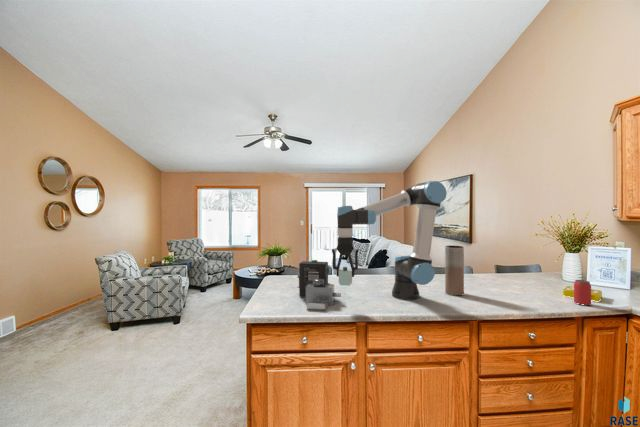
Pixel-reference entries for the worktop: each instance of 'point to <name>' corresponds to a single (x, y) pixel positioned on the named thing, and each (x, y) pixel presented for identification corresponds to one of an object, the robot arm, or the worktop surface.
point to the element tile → (595, 294)
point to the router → (311, 274)
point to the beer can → (582, 292)
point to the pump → (345, 276)
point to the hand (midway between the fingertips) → (345, 283)
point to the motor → (320, 295)
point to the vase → (454, 270)
